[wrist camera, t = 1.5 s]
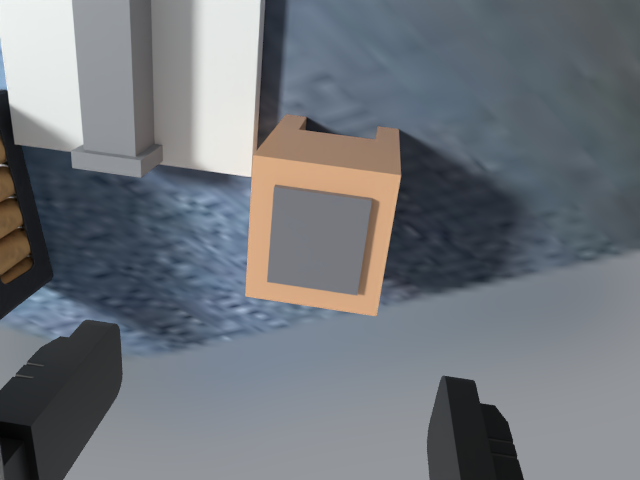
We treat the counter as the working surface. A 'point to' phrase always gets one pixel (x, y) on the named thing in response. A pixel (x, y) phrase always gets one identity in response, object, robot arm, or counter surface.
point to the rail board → (183, 79)
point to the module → (322, 217)
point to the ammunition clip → (18, 223)
